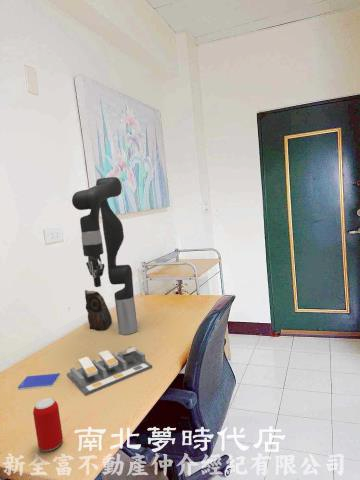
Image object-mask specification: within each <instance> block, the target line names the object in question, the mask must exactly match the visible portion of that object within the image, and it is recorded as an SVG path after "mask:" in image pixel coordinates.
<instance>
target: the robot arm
mask: <svg viewBox="0 0 360 480" xmlns="http://www.w3.org/2000/svg"><path fill="white" fill-rule="evenodd" d="M122 190H123V189H122V183H121V180H120V178H119V177H116V176H109V177H101V178H97V180H96V183H95V185H94V186H92V187H90V188H88V189H82V190H78V191H76V192H74V194H73V196H72V198H71V203H72V205H73V207H74V208H75V209H76V210H78V211H85V210H86V211H87V210H90V212H89V214H87V215H83V216H82V217H80V219H79V223H80V232H81V244H82V253H83V256H84V257H87V260H88V261H87V262H85V263H86V264H85V265H86V267H87V269H88V272H89V274H90V276H92V278H93V285H94V287H95V288H100V287H101V286H102V282H101V277H102V276H103V274H104V270H105V263H102V259H101V255H103V254H104V245H103V237H104V243H105V250H106V260H107V274H108V279H109V283H110V284H111V285H114V286H115V285H124V287H123V288H121V289H119V290H117V291H116V292H114V302H115V303H114V305H115V310H116V311H115V312H116V318H117V319H116V320H117V328H118V333H119V335H124V336H127V335H132V334H134V333H135V334H136V332H138V329H139V328H138V327H139V326H138V319H137V311H136V310H137V309H136V304H135V294H134V284H133V283H134V282H133V281H134V280H133V270H132V267H131V265H129V264H120V265H119V264H118V265H117V255H118V254H119V253H118V252H119V250H120V248H121V246H122V244H123V242H124V238H125V235H124V227H123V223H122V221H121V219H120V218H119V217H118V216H117V214H115V212H114V211H113V210H112V208H111V207H110V205H109V202H108V199H110V198H115V197H119V196H120V195H121V194H122ZM100 213H101V222H102V230H103V231H102V232H103V237H102V233H101V226H100Z"/></svg>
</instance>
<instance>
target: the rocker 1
mask: <svg viewBox="0 0 360 480" xmlns="http://www.w3.org/2000/svg"><path fill="white" fill-rule="evenodd" d="M91 361H92V360H91V359H90V358H89V356H85V357H82V358H79V359H78V360H77V362H78V363H77V364H78V365H79V367H81V368H82V370H83V371H84V372H85V374H86V375H87V377H90V376H93V375H95V374H98V370H97V369H96V367H95V366H94V365H93V363H92V362H91Z"/></svg>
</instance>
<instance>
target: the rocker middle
mask: <svg viewBox="0 0 360 480" xmlns="http://www.w3.org/2000/svg"><path fill="white" fill-rule="evenodd" d="M98 357H99V358H100V360H101V361H103V363H105V364H106V365H107V366H108V368H111V367H114V366H116V365H118V361H117V360H116V359H115V358H114V357H113V355H112V354H111V352H110V351H109V350H108V349H106V350H103V351H100V352H98Z"/></svg>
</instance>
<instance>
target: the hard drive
mask: <svg viewBox="0 0 360 480" xmlns="http://www.w3.org/2000/svg"><path fill="white" fill-rule="evenodd" d="M60 376H61V373H50V374H49V373H48V374H37V375H28V376H26V377H25V378H24V379H23V381H22V382H21V383H20V384H18V386H17V390H18V391H21V390H30V389H39V388H40V389H41V388H42V389H43V388H49V387H53V386H54V385H55V383H57V380H58V379H59V377H60Z"/></svg>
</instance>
